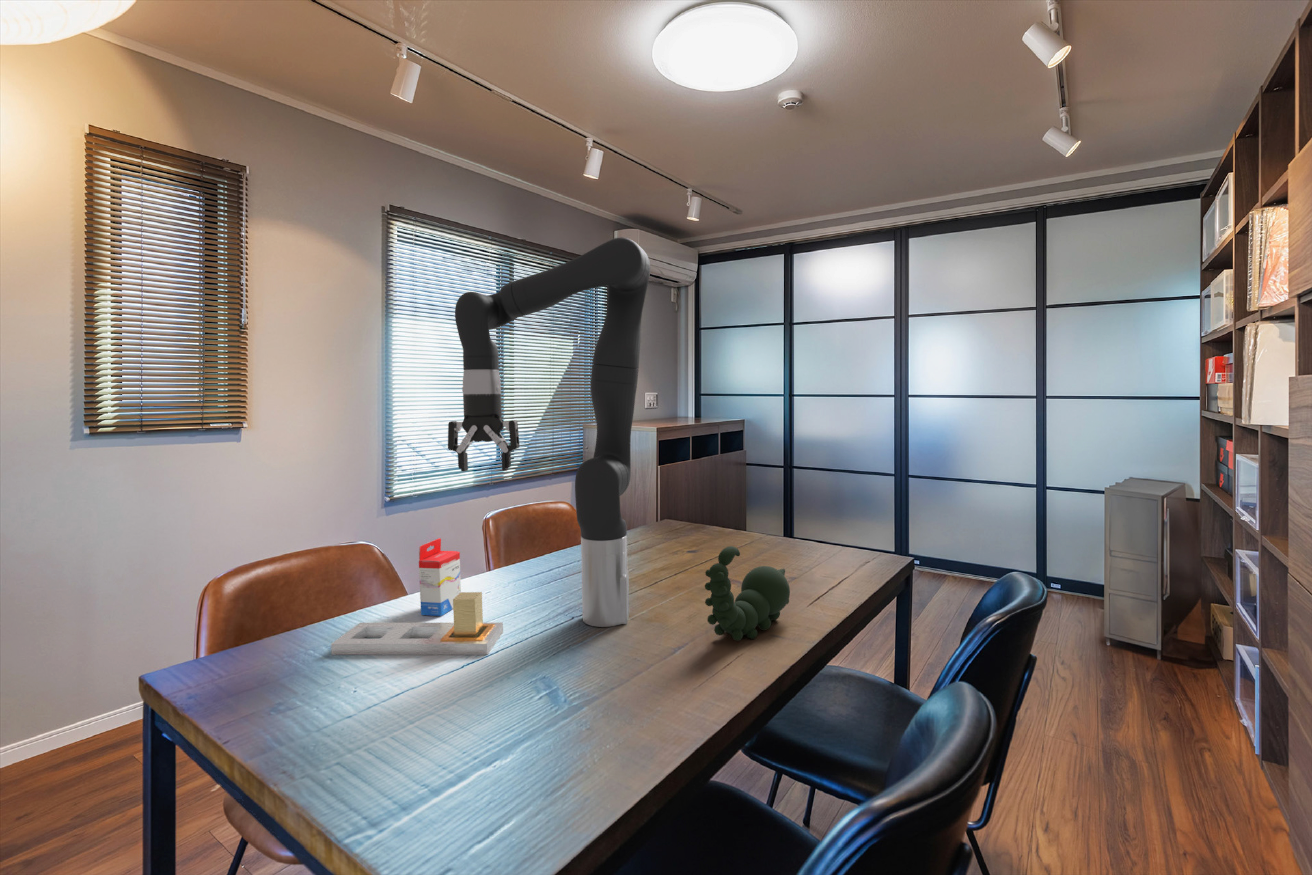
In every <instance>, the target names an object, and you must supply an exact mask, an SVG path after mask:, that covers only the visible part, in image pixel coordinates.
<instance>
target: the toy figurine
mask: <svg viewBox="0 0 1312 875" xmlns="http://www.w3.org/2000/svg"><path fill="white" fill-rule="evenodd" d="M740 555H741V552H740V550H739V548H737V547H735V546H734V545H733V546H732V545H731V546H727V547H725V548H723V549H722V550H721V551H720V553H719V554H718V556H717V561H718V562H717V563H714V564H712V565H711V566H710V567H709V569H707V570H705V572H704V574H705V576H706V577H707V578H710V580H709V581H708V582H705V584H704V589H705V590H706V591H710V592H711V594H710V597H707V598H706V599H705V601H704V604H705V605H706V606H707V607H712V610H711V613H712V614H709V615H708V617H707V622H708V624H710V625H711V626H713V625H714V628H713V631H714V633H715V634H716V635H717V636H722V635H725V634H726V633H728V634H729V635H731V638H732V639H733V641H741V640H742V638H744V636H745V635H746V638H748V639H750V640H755V639H756V638H757V636H758V630H757V628H756V627H757V626H758V628H759V629H760V630H763V631H766V630H768V629H769V630H770V628H771V626H772V622H773V621H777V620H778V619H779V618H780V616H781V611H782V610H783V609H784V608H785V607H786V606H787V605H788V604H789V603H790V597H791V596H790V595H791V588H790V585H789V581H788V579H787V577H786V576H785V574H786V569H785V568H781V569H777V568H775V567H772V566H769V565H760V566H757V567H755V568H752V569H751V570H750V571H749V572H748V573H746V575H745V576H744V578H743V579H742V582H741V587H740V588H741V590H740V593H738V595H736V597H735V596H734V593H733V592H732V590H731V589H732V582H731V579H730V578H729V574H730V573H729V569H728V568H727V566H728V565H730V564H731V563H732V561H733V559H734V558H735V557H740ZM717 623H718V624H717Z"/></svg>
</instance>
